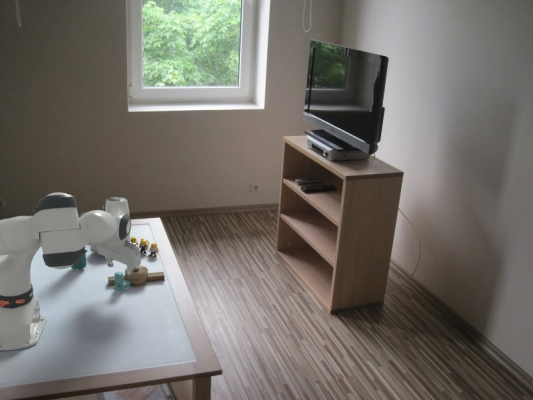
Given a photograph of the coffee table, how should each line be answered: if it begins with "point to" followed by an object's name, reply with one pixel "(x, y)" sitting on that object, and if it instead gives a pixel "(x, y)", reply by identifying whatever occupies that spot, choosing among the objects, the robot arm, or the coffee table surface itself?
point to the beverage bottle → (80, 263)
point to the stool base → (139, 277)
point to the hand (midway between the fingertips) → (119, 270)
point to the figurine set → (146, 246)
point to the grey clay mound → (95, 250)
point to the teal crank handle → (120, 282)
